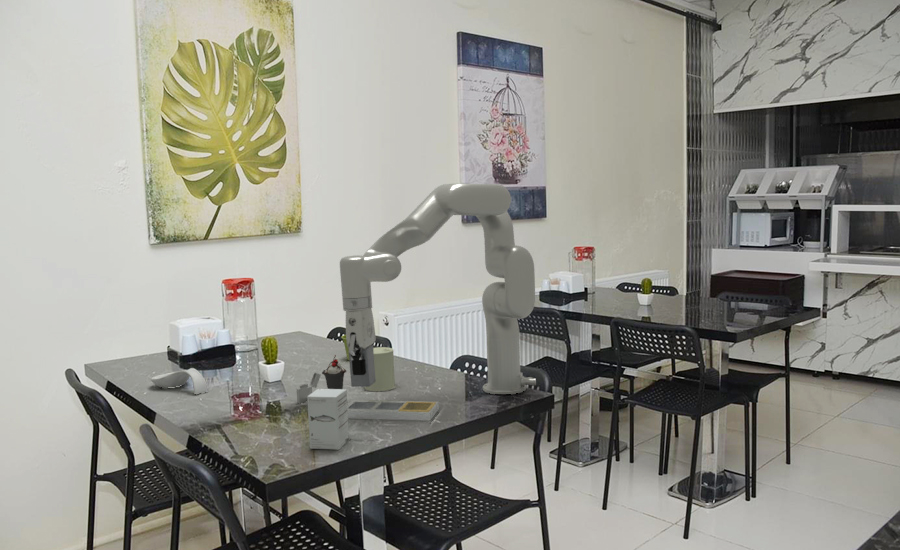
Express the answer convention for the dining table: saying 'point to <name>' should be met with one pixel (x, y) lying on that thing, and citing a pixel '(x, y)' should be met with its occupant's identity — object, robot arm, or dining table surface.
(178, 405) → the dining table surface
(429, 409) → the gray compartment tray
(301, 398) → the lighter
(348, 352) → the plant pot
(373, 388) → the can
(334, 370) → the sundae
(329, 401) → the supplement box
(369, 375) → the gray rectangular block
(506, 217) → the robot arm
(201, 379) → the spoon rest
